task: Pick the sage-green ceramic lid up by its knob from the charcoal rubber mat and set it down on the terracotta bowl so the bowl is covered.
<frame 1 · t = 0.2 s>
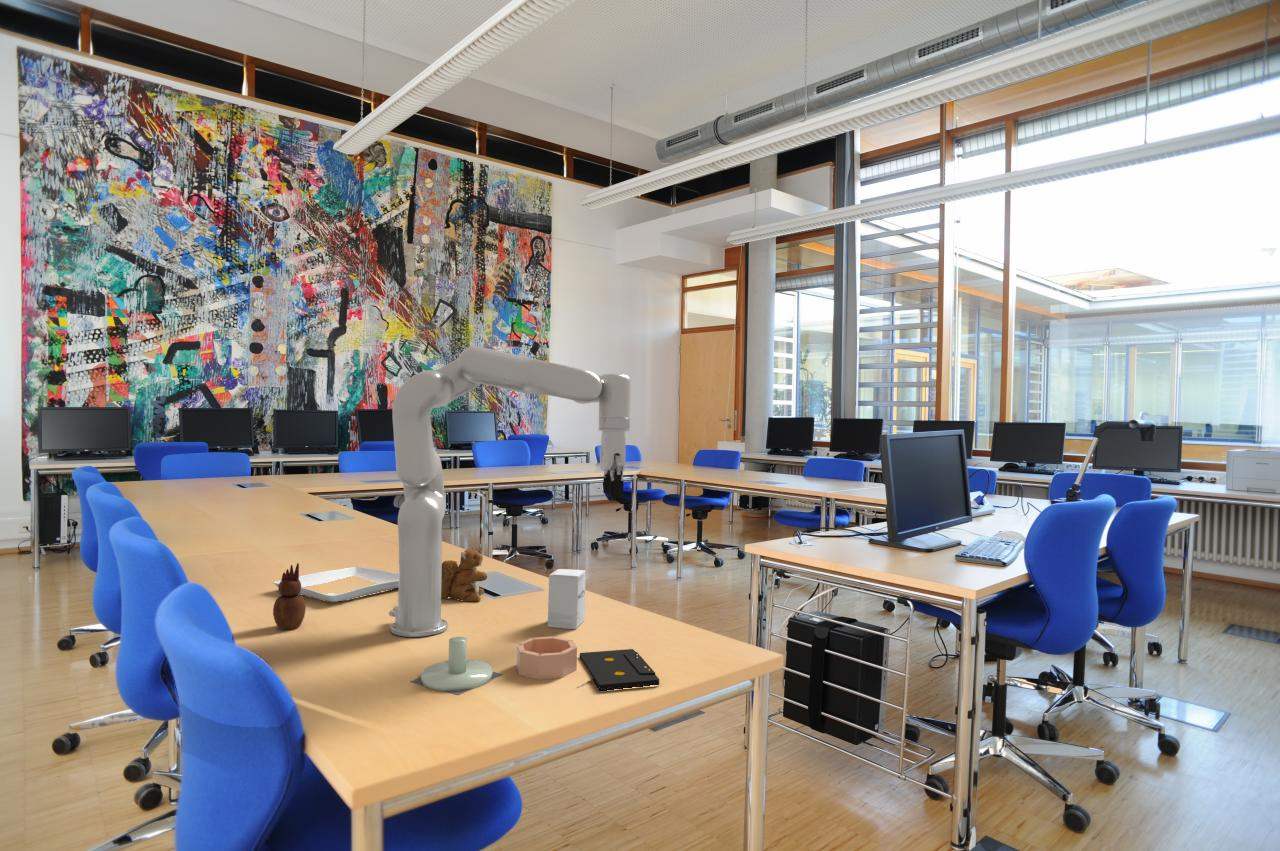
hand: (612, 495, 172), 31 cm above the table, tool pointing down, fingers open, 9 cm apart
wooden figurine: (289, 628, 164), on the table
stuffed squirrel: (460, 598, 194), on the table
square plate: (345, 592, 199), on the table
lid: (457, 677, 133), point 1 cm above the table, touching mat
cassette tape: (617, 676, 139), on the table
mat: (457, 680, 133), on the table
supplement box: (566, 625, 171), on the table
bowl: (546, 671, 139), on the table
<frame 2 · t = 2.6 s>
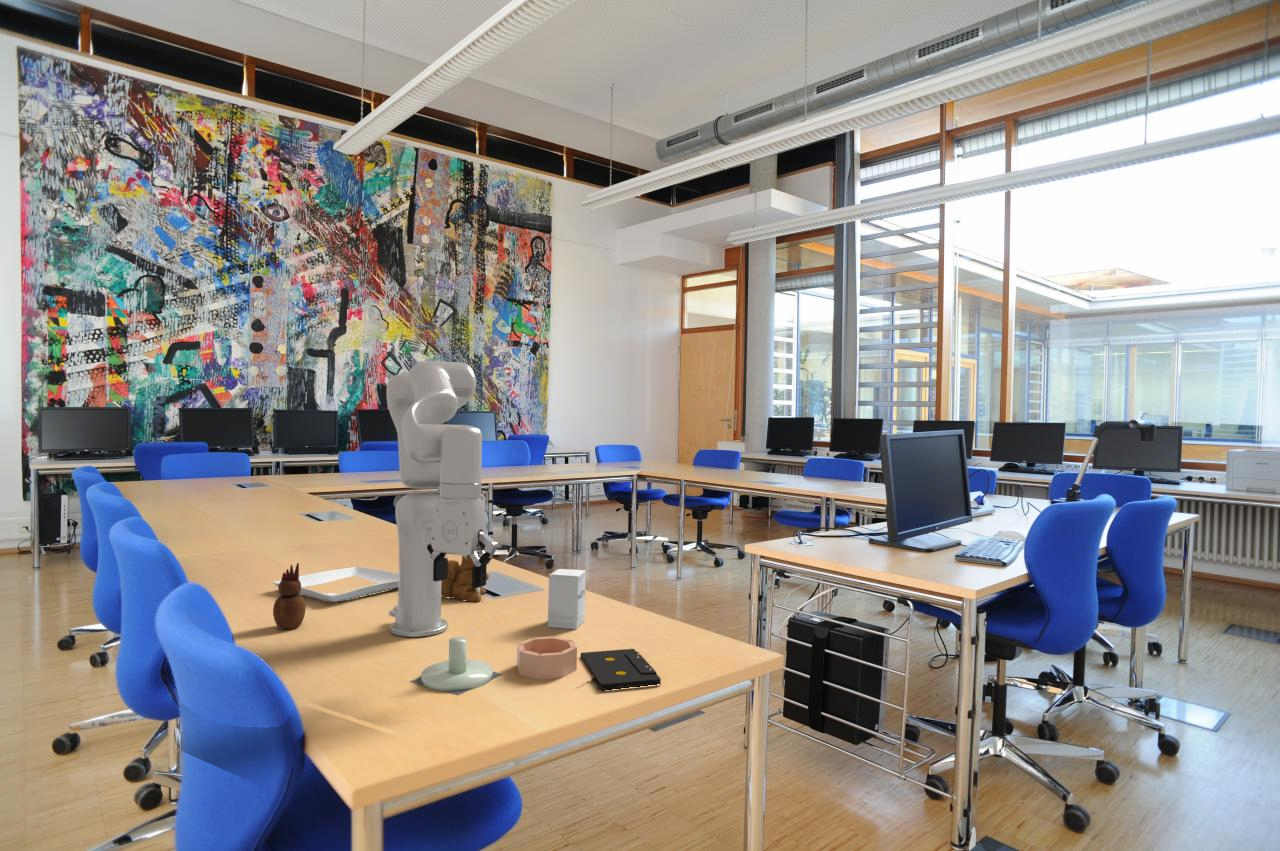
hand: (459, 583, 133), 18 cm above the table, tool pointing down, fingers open, 9 cm apart
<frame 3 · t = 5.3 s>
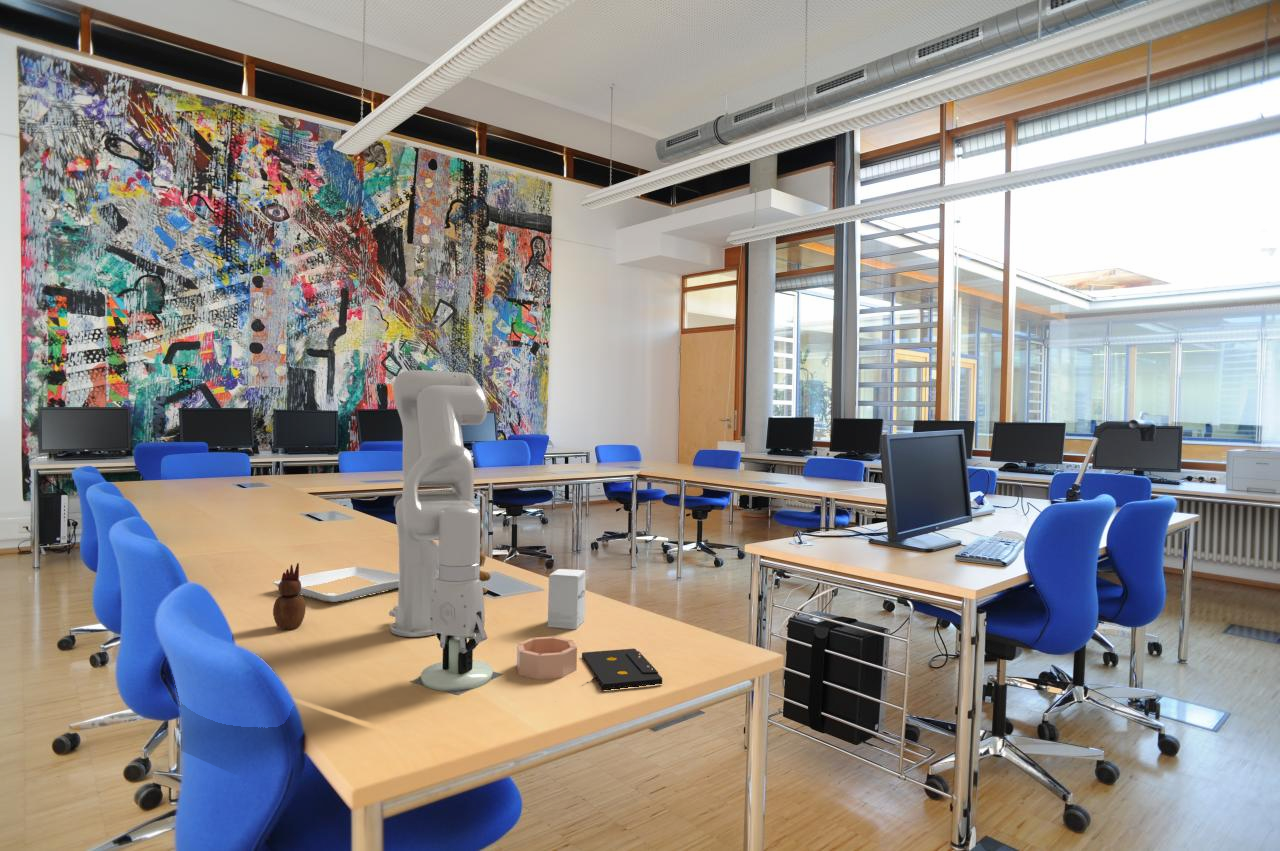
hand: (457, 669, 133), 2 cm above the table, tool pointing down, fingers closed on lid, 3 cm apart
lid: (457, 677, 133), point 1 cm above the table, touching gripper, mat
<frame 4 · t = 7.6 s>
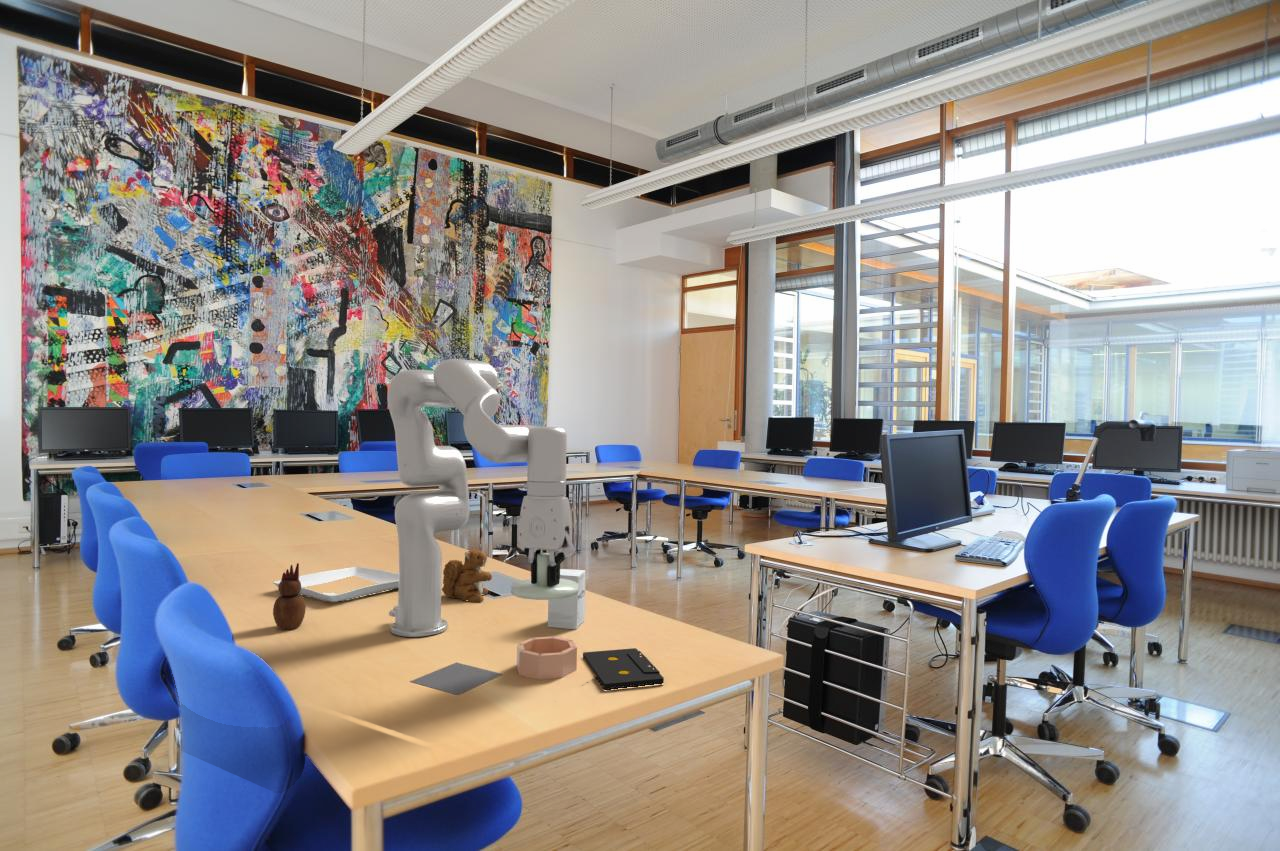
hand: (545, 582, 138), 17 cm above the table, tool pointing down, fingers closed on lid, 3 cm apart
lid: (544, 591, 138), point 16 cm above the table, touching gripper
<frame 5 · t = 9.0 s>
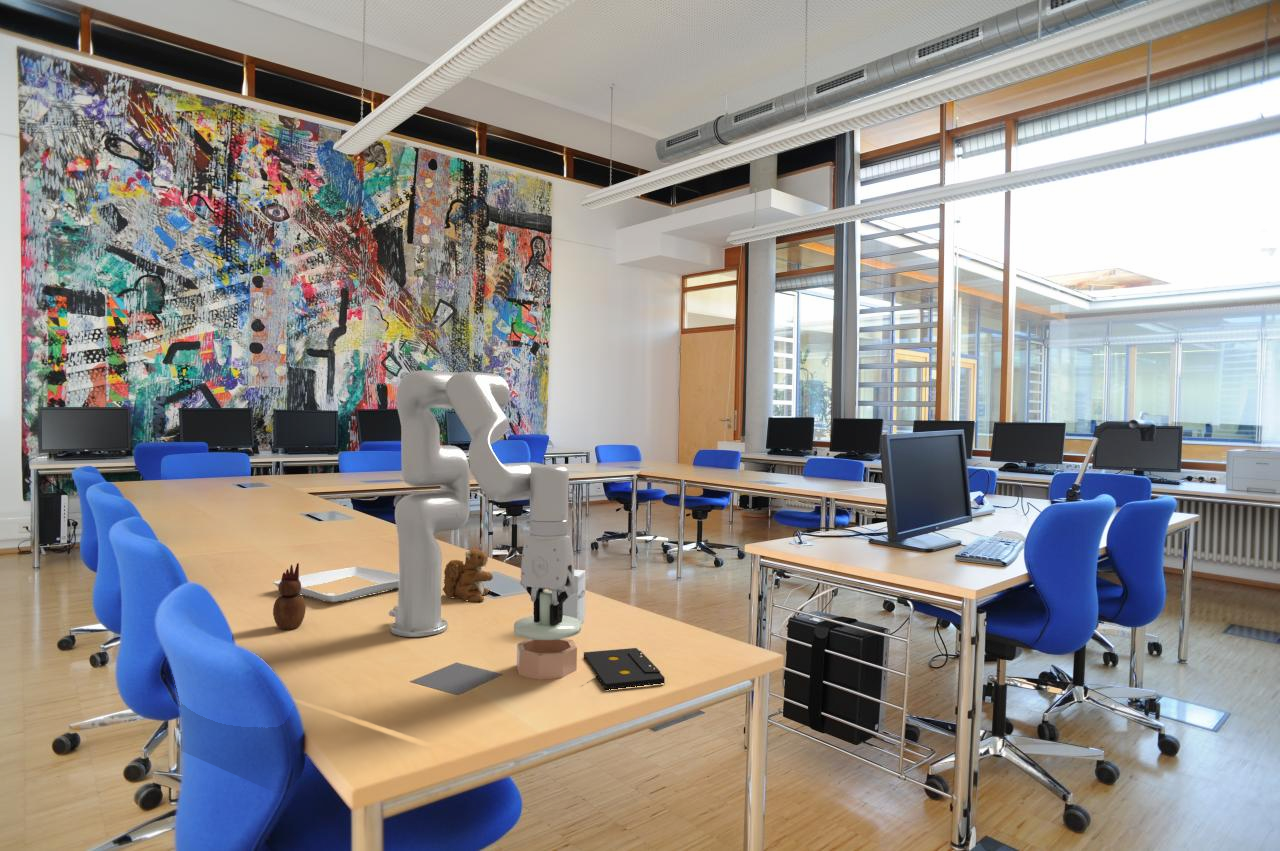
hand: (547, 621, 139), 10 cm above the table, tool pointing down, fingers closed on lid, 3 cm apart
lid: (547, 629, 139), point 8 cm above the table, touching gripper
when the fingers open (8 cm above the table, at t = 10.1 s): lid stays where it is, resting on bowl.
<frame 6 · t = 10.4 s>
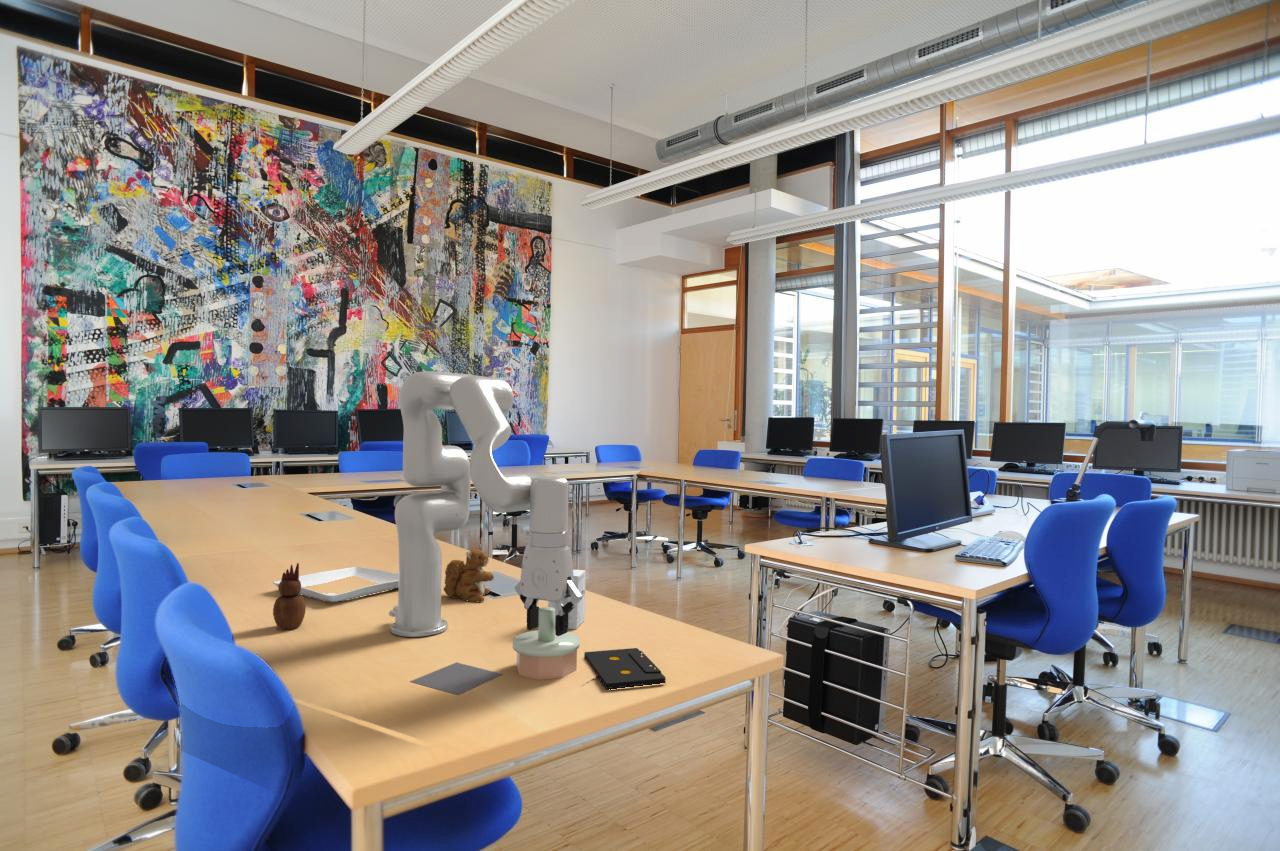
hand: (547, 630, 139), 8 cm above the table, tool pointing down, fingers open, 6 cm apart
lid: (546, 645, 139), point 5 cm above the table, touching bowl
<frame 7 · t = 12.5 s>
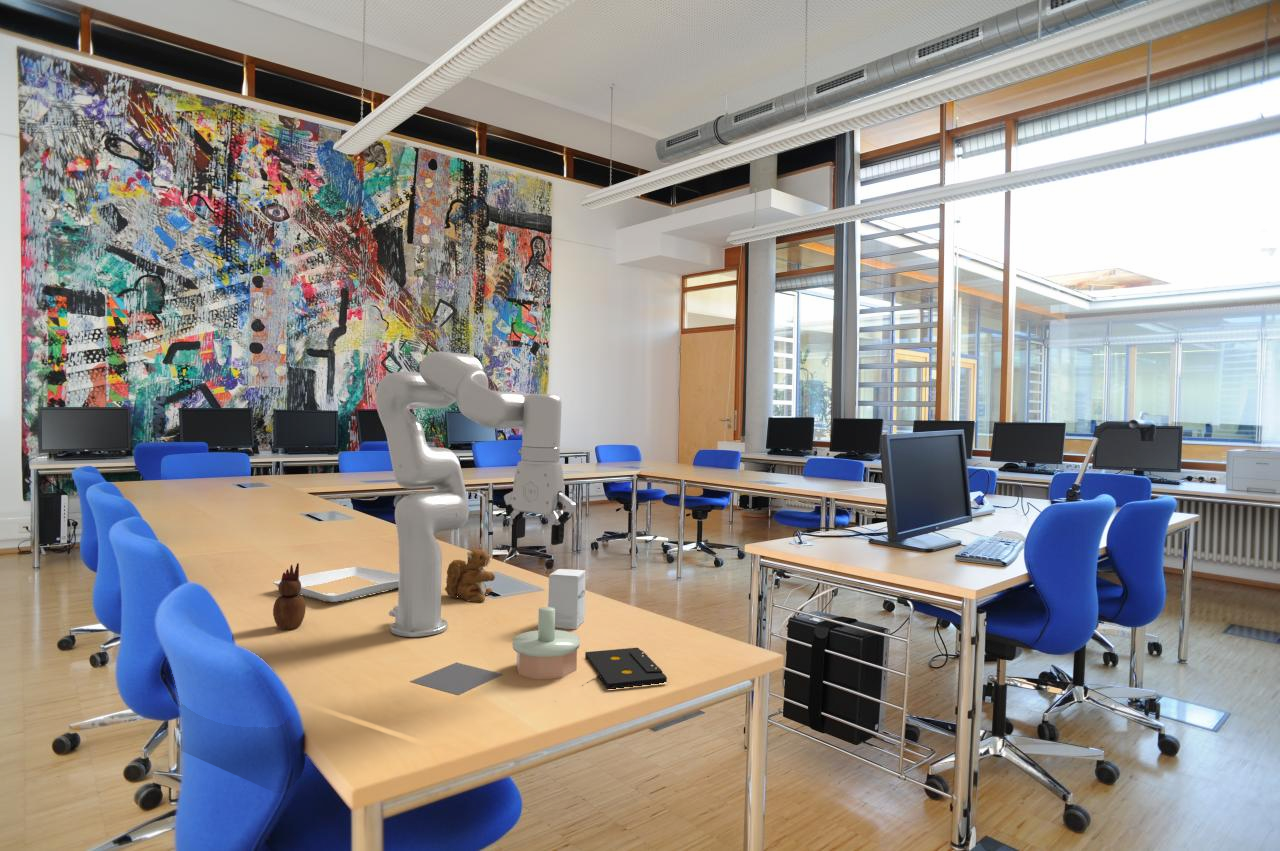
hand: (537, 540, 142), 25 cm above the table, tool pointing down, fingers open, 9 cm apart
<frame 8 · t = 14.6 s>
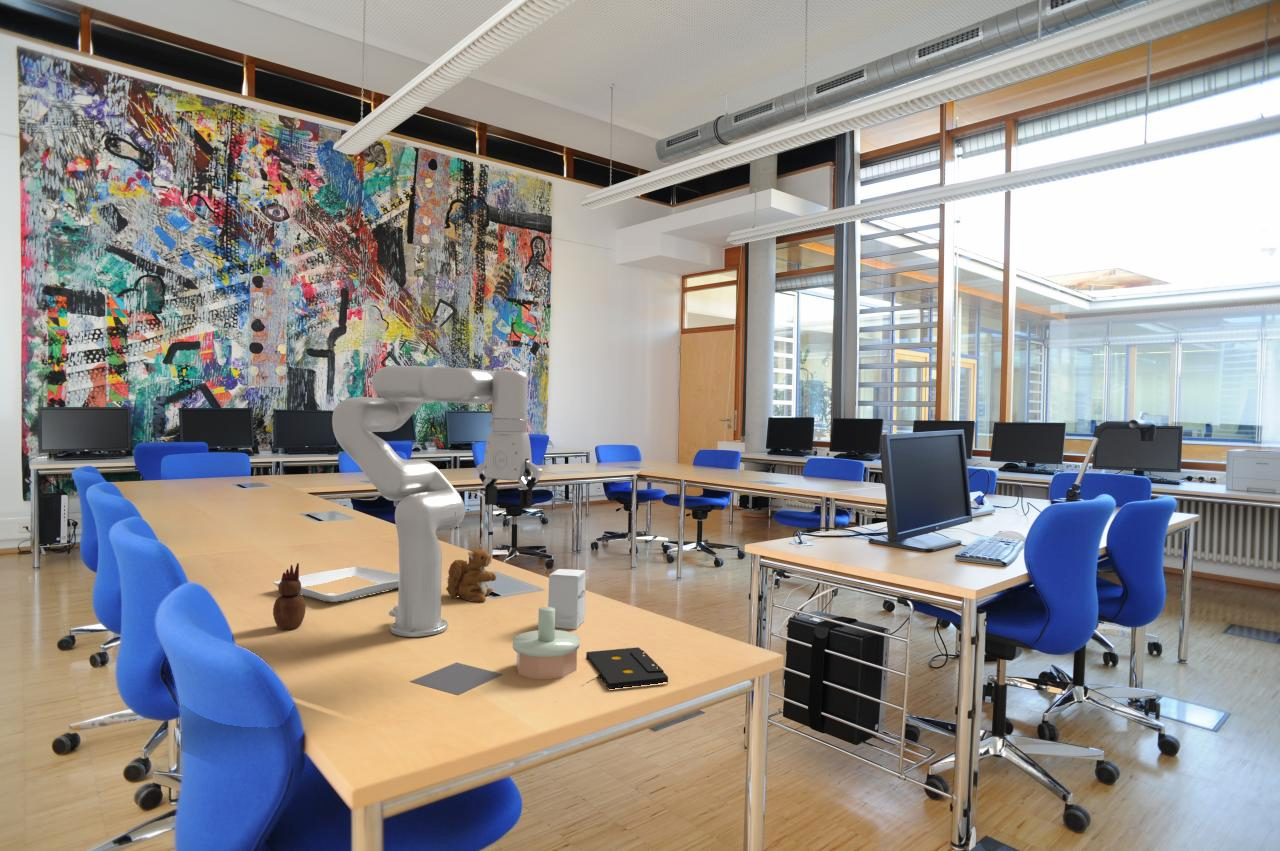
hand: (508, 506, 154), 30 cm above the table, tool pointing down, fingers open, 9 cm apart
at the end: lid 0.1 cm off-centre on the bowl, point 5.0 cm above the bowl's base; lid tilted 0°; the gripper is holding nothing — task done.
